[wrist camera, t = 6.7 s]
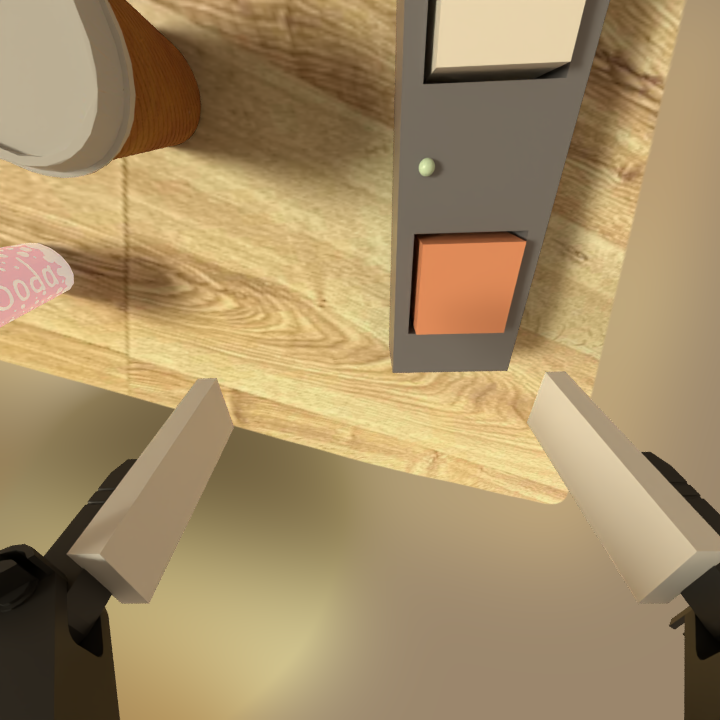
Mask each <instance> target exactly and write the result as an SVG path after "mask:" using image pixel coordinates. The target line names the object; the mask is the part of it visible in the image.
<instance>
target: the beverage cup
mask: <svg viewBox="0 0 720 720" xmlns="http://www.w3.org/2000/svg"><path fill="white" fill-rule="evenodd" d="M73 284H74V275H73V272H72V270H71V268H70V266H69V264H68V263H67V262H66V261H65V260H64V259H63V257H62V256H61V255H59V254H58V253H57V252H55V251H54V250H53V249H51V248H49V247H47V246H44V245H42V244H39V243H25V244H19V245H14V246H8V247H2V248H0V327H2V326H3V325H5V324H7V323H9V322H11V321H13V320H14V319H16V318H18V317H20V316H22V315H24V314H25V313H27V312H29V311H31V310H33V309H35V308H36V307H38V306H40V305H42V304H44V303H46V302H47V301H49V300H51V299H53V298H55V297H57V296H59V295H60V294H62V293H64V292H66V291H68V290H70V289H71V287H72V285H73Z"/></svg>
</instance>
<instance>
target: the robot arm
mask: <svg viewBox="0 0 720 720" xmlns="http://www.w3.org/2000/svg"><path fill="white" fill-rule="evenodd" d="M527 424H528V425H529V427H530V428H531V430H532V432H533V433H534V435H535V437H536V438H537V440H538V441H539V443H540V445H541V446H542V448H543V450H544V451H545V453H546V455H547V456H548V458H549V459H550V461H551V463H552V464H553V466H554V468H555V469H556V471H557V472H558V474H559V476H560V477H561V479H562V481H563V482H564V484H565V485H566V487H567V489H568V490H569V492H570V493H571V495H572V497H573V498H574V500H575V502H576V503H577V505H578V507H579V508H580V510H581V511H582V513H583V515H584V516H585V518H586V520H587V521H588V523H589V525H590V526H591V528H592V529H593V531H594V533H595V534H596V536H597V538H598V539H599V541H600V542H601V544H602V546H603V547H604V549H605V551H606V552H607V554H608V555H609V557H610V559H611V560H612V562H613V563H614V565H615V567H616V568H617V570H618V572H619V573H620V575H621V577H622V578H623V580H624V581H625V583H626V585H627V586H628V588H629V590H630V591H631V593H632V595H633V596H634V598H635V599H636V601H637V603H669V602H670V601H671V600H673V599H674V598H675V597H676V596H678V595H679V594H680V593H681V594H682V596H683V597H684V598H685V600H686V601H687V603H688V604H689V605H690V606H689V607H687V608H686V609H685V610H684V611H682V612H681V613H679V614H678V615H677V616H675V617H674V618H672V619H671V622H670V625H669V626H670V627H671V628H673V629H676V628H678V627H679V626H680V625H682V624H683V623H685V632H684V633H683V635H684V636H685V692H684V693H685V695H684V696H685V697H684V704H685V705H684V707H685V709H684V710H685V713H684V720H720V514H719V513H718V512H717V511H716V510H715V509H714V508H713V507H712V506H711V505H710V504H709V503H708V502H707V501H706V500H704V499H701V497H700V494H699V493H697V492H696V490H695V489H694V488H693V487H692V486H691V485H688V484H687V481H686V480H685V479H684V478H683V477H682V476H681V475H680V474H679V473H678V472H677V471H676V470H675V469H674V468H673V467H672V466H670V465H669V464H668V463H666V462H665V461H663V460H662V459H660V458H659V457H657V456H656V455H654V454H653V453H651V452H640V451H639V450H638V449H637V448H636V447H635V445H634V444H633V443H632V442H631V441H630V440H629V439H628V438H627V437H626V436H625V435H624V434H623V433H622V432H621V431H620V430H619V428H618V427H617V426H616V425H615V424H614V423H613V422H612V421H611V420H610V419H609V418H608V417H607V416H606V415H605V413H604V412H603V411H602V410H601V409H600V408H599V407H598V406H597V405H596V404H595V403H594V402H593V401H592V400H591V399H590V397H589V396H588V395H587V394H586V393H585V392H584V391H583V390H582V389H581V388H580V387H579V386H578V385H577V384H576V383H575V381H574V380H573V379H572V378H571V377H570V376H569V375H568V374H567V373H566V372H545V374H544V377H543V380H542V383H541V385H540V388H539V391H538V394H537V396H536V399H535V402H534V405H533V407H532V410H531V413H530V416H529V418H528V421H527ZM233 428H234V426H233V423H232V420H231V417H230V415H229V412H228V409H227V406H226V403H225V400H224V398H223V395H222V392H221V389H220V386H219V384H218V381H217V378H208V379H197V381H196V382H195V383H194V385H193V386H192V387H191V389H190V390H189V391H188V393H187V394H186V395H185V397H184V398H183V399H182V401H181V402H180V403H179V405H178V406H177V407H176V409H175V410H174V411H173V413H172V414H171V415H170V417H169V418H168V419H167V421H166V422H165V423H164V425H163V426H162V427H161V429H160V430H159V431H158V433H157V434H156V435H155V437H154V438H153V440H152V441H151V442H150V443H149V445H148V446H147V447H146V449H145V450H144V452H143V453H142V454H141V455H140V457H139V458H138V459H131V460H130V459H128V460H126V461H125V462H124V463H123V464H121V465H120V466H119V467H118V468H116V469H115V470H114V471H113V472H111V473H110V475H109V476H108V477H107V478H106V480H105V481H104V482H103V483H102V485H101V486H100V487H99V490H98V491H97V492H95V493H94V495H93V496H92V497H91V498H90V500H89V501H88V504H87V505H85V506H84V507H83V508H82V510H81V511H80V512H79V513H78V514H77V516H76V517H75V518H74V519H73V521H72V522H71V523H70V524H69V526H68V527H67V528H66V529H65V531H64V532H63V533H62V534H61V536H60V537H59V538H58V539H57V541H56V542H55V543H54V544H53V546H52V547H51V548H50V549H49V551H48V552H47V553H46V554H45V555H44V557H43V556H42V555H41V554H39V553H38V552H37V551H36V550H35V549H33V548H32V547H30V546H28V545H25V544H22V545H14V546H10V547H7V548H5V549H2V550H0V720H120V717H119V708H118V699H117V689H116V680H115V671H114V662H113V653H112V645H111V636H110V626H109V617H108V613H107V611H106V609H105V605H106V604H107V602H108V600H109V598H110V596H111V595H113V596H114V597H115V598H116V599H117V600H118V601H120V602H121V603H149V602H150V600H151V598H152V596H153V594H154V592H155V590H156V588H157V586H158V584H159V582H160V580H161V577H162V575H163V573H164V571H165V569H166V567H167V565H168V563H169V561H170V559H171V557H172V555H173V553H174V550H175V549H176V546H177V544H178V542H179V540H180V538H181V536H182V534H183V532H184V530H185V528H186V526H187V524H188V522H189V519H190V517H191V515H192V513H193V511H194V509H195V507H196V505H197V502H198V501H199V499H200V497H201V494H202V492H203V490H204V488H205V486H206V484H207V482H208V480H209V478H210V476H211V474H212V471H213V469H214V468H215V465H216V463H217V461H218V459H219V457H220V455H221V453H222V451H223V449H224V447H225V445H226V443H227V441H228V438H229V436H230V434H231V432H232V430H233Z"/></svg>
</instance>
